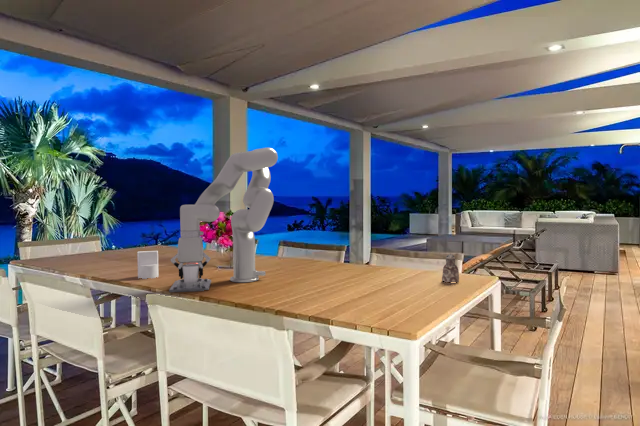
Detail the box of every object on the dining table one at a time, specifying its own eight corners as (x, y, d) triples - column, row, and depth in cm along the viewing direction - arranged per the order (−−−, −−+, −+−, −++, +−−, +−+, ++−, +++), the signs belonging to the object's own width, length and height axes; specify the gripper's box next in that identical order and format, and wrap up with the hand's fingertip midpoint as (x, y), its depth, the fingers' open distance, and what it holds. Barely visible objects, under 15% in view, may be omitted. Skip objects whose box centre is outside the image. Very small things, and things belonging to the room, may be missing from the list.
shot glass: (194, 283, 180) (194, 266, 179) (179, 283, 181) (178, 266, 181) (202, 280, 186) (202, 263, 186) (187, 279, 188) (187, 263, 187)
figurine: (440, 282, 193) (440, 254, 192) (443, 279, 199) (444, 252, 198) (457, 283, 189) (457, 255, 189) (460, 281, 196) (460, 253, 195)
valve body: (211, 281, 196) (210, 261, 196) (208, 290, 178) (208, 268, 177) (175, 283, 194) (175, 262, 193) (169, 292, 175) (168, 270, 175)
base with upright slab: (158, 274, 214) (158, 249, 213) (158, 278, 205) (157, 252, 205) (138, 276, 211) (138, 250, 211) (137, 279, 203) (136, 253, 202)
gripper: (212, 233, 188) (213, 275, 189) (169, 234, 185) (170, 277, 186) (211, 235, 181) (212, 278, 182) (166, 236, 178) (167, 280, 178)
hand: (191, 277), depth 184 cm, fingers closed on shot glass, 6 cm apart
